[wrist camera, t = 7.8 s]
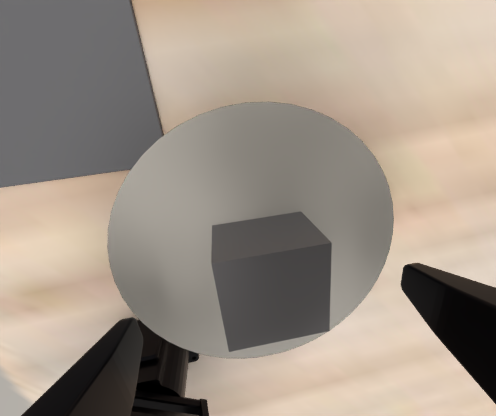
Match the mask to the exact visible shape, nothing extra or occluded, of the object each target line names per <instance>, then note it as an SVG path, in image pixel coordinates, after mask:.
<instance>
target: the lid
mask: <svg viewBox="0 0 496 416" xmlns="http://www.w3.org/2000/svg"><path fill="white" fill-rule="evenodd" d="M393 221H394V216H393V203H392V198H391V194H390V189H389V185H388V183H387V180H386V178H385V175H384V172H383V170H382V168H381V167H380V165H379V163H378V162H377V160H376V158H375V156H374V155H373V154H372V152H371V151H370V150H369V149H368V148H367V146H366V145H365V144H364V143H363V142H362V141H361V140H360V139H359V138H358V137H357V136H356V135H355V134H354V133H352V132H351V131H350V130H349V129H348V128H346V127H345V126H343V125H341V124H340V123H338V122H337V121H335V120H334V119H332V118H330V117H328V116H325V115H323V114H321V113H319V112H316V111H314V110H311V109H308V108H304V107H300V106H296V105H292V104H285V103H276V102H250V103H241V104H235V105H230V106H225V107H221V108H218V109H215V110H212V111H209V112H206V113H203V114H200V115H198V116H196V117H194V118H192V119H190V120H188V121H186V122H184V123H182V124H180V125H178V126H177V127H175V128H174V129H172V130H171V131H170V132H168V133H167V134H165V135H164V136H163V137H161V138H160V139H158V140H157V141H156V142H155V143H154V144H153V145H152V146H151V147H150V148H149V149H148V150H147V151H146V152H145V153H144V154H143V155H142V156H141V157H140V159H139V160H138V161H137V162H136V164H135V165H134V166H133V168H132V169H131V170H130V172H129V173H128V175H127V177H126V178H125V180H124V182H123V184H122V186H121V188H120V189H119V191H118V194H117V197H116V199H115V202H114V205H113V208H112V211H111V216H110V221H109V227H108V255H109V262H110V267H111V271H112V274H113V277H114V281H115V283H116V285H117V287H118V289H119V291H120V294H121V296H122V298H123V299H124V300H125V302H126V303H127V305H128V306H129V308H130V309H131V311H132V312H133V313H134V314H135V315H136V316H137V317H138V318H139V319H140V321H141V322H142V323H143V324H145V325H146V326H147V327H148V328H149V329H151V330H152V331H153V332H154V333H156V334H157V335H159V336H160V337H162V338H164V339H165V340H167V341H169V342H171V343H173V344H175V345H177V346H179V347H181V348H184V349H187V350H190V351H192V352H195V353H199V354H203V355H208V356H213V357H221V358H241V359H242V358H256V357H262V356H268V355H273V354H277V353H281V352H285V351H288V350H291V349H294V348H296V347H299V346H302V345H304V344H306V343H308V342H310V341H312V340H314V339H316V338H318V337H320V336H321V335H323V334H325V333H326V332H328V331H330V330H331V329H332V328H334V327H335V326H336V325H338V324H339V323H340V322H341V321H343V320H344V319H345V318H346V317H347V316H348V315H350V314H351V313H352V312H353V311H354V309H355V308H356V307H357V306H358V305H359V304H360V303H361V302H362V301H363V299H364V298H365V297H366V296H367V294H368V293H369V292H370V290H371V289H372V287H373V285H374V284H375V282H376V280H377V279H378V277H379V275H380V273H381V271H382V269H383V266H384V264H385V262H386V259H387V256H388V253H389V250H390V245H391V240H392V235H393Z"/></svg>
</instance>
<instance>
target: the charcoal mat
mask: <svg viewBox="0 0 496 416" xmlns="http://www.w3.org/2000/svg"><path fill="white" fill-rule="evenodd" d="M161 137H163V131H162V127H161V123H160V119H159V115H158V111H157V107H156V102H155V98H154V94H153V90H152V86H151V82H150V77H149V73H148V69H147V65H146V61H145V57H144V52H143V48H142V44H141V40H140V36H139V32H138V28H137V23H136V19H135V15H134V11H133V7H132V3H131V0H0V188H1V187H8V186H15V185H22V184H30V183H37V182H44V181H51V180H58V179H65V178H73V177H80V176H87V175H94V174H101V173H108V172H116V171H123V170H130V169H132V168H133V166H134V165H135V164H136V162H137V161H138V160H139V159H140V157H141V156H142V155H143V154H144V153H145V152H146V151H147V150H148V149H149V148H150V147H151V146H152V145H153V144H154V143H155V142H156V141H157V140H158V139H160V138H161Z"/></svg>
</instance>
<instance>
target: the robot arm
mask: <svg viewBox="0 0 496 416" xmlns="http://www.w3.org/2000/svg"><path fill="white" fill-rule="evenodd" d="M401 287H402V290H403V292H404V293H405V294H406V296H407V297H408V299H409V300H410V301H411V303H412V304H413V305H414V307H415V308H416V309H417V311H418V312H419V313H420V315H421V316H422V318H423V319H424V320H425V322H426V323H427V324H428V326H429V327H430V328H431V330H432V331H433V332H434V333H435V335H436V336H437V337H438V338H439V339H440V341H441V342H442V343H443V344H444V345H445V346H446V348H447V349H448V350H449V351H450V352H451V353H452V354H453V356H454V357H455V358H456V359H457V360H458V361H459V362H460V364H461V365H462V366H463V367H464V368H465V369H466V371H467V372H468V373H469V374H470V375H471V376H472V377H473V379H474V380H475V381H476V382H477V383H478V384H479V385H480V387H481V388H482V389H483V390H484V391H485V392H486V394H487V395H488V396H489V397H490V398H491V399H492V400H493V402H494V403H495V404H496V288H495V287H491V286H488V285H485V284H482V283H479V282H476V281H473V280H470V279H467V278H464V277H460V276H457V275H454V274H451V273H448V272H445V271H442V270H439V269H436V268H432V267H429V266H426V265H423V264H420V263H412V264H407V265H405V266H404V268H403V273H402V280H401ZM198 359H199V353H195V352H192V351H190V350H187V349H184V348H181V347H179V346H177V345H175V344H173V343H171V342H169V341H167V340H165V339H164V338H162V337H160V336H159V335H157V334H156V333H154V332H153V331H152V330H151V329H149V328H148V327H147V326H146V325H145V324H143V323H142V322H141V321H140V322H137V321H136V319H135V318H127V319H122V320H120V321H119V322H117V323H116V324H115V325H114V326H113V327H112V328H111V329H110V330H109V331H108V332H107V333H106V334H105V335H104V336H103V337H102V338H101V339H100V340H99V341H98V342H97V343H96V344H95V345H94V346H93V347H92V348H91V349H89V350H88V351H87V352H86V353H85V354H84V355H83V356H82V357H81V358H80V359H79V360H78V361H77V362H76V363H75V364H74V365H73V366H72V367H71V368H70V369H69V370H68V371H67V372H66V373H65V374H64V375H63V376H62V377H61V378H60V379H59V380H58V381H56V382H55V383H54V384H53V385H52V386H51V387H50V388H49V389H48V390H47V391H46V392H45V393H44V394H43V395H42V396H41V397H40V398H39V399H38V400H37V401H36V402H35V403H34V404H33V405H32V406H31V407H30V408H29V409H28V410H27V411H26V412H25V413H24V414H22V415H21V416H209V413H208V406H207V400H205V399H200V400H197V399H191V398H185V388H186V379H187V369H188V363H189V362H194V361H197V360H198Z"/></svg>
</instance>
